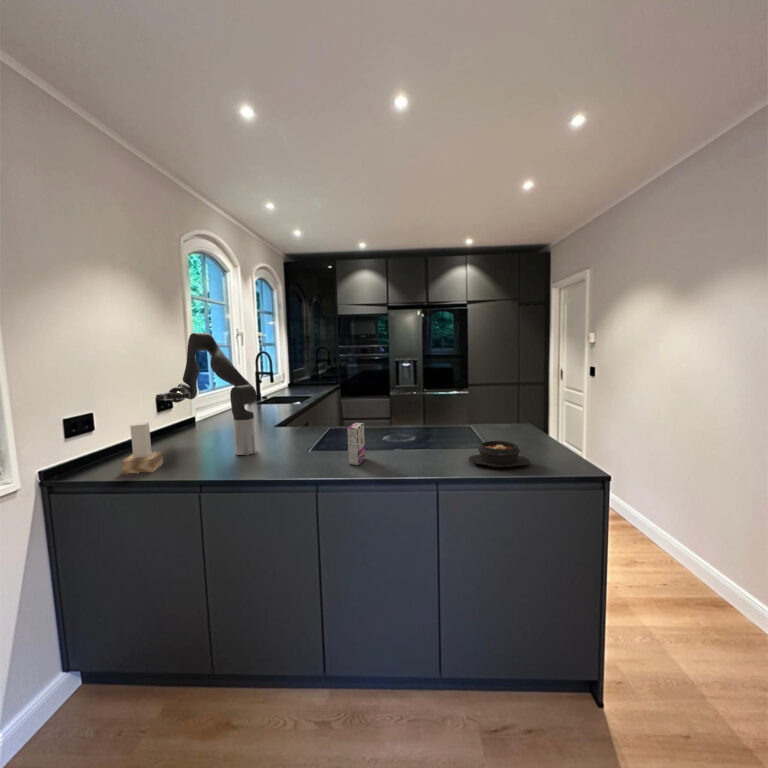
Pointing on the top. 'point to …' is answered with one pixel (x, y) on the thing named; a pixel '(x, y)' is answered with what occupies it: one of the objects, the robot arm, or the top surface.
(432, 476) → the top surface
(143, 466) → the oak block
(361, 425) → the candy bar box
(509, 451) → the casserole
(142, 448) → the off-white column
